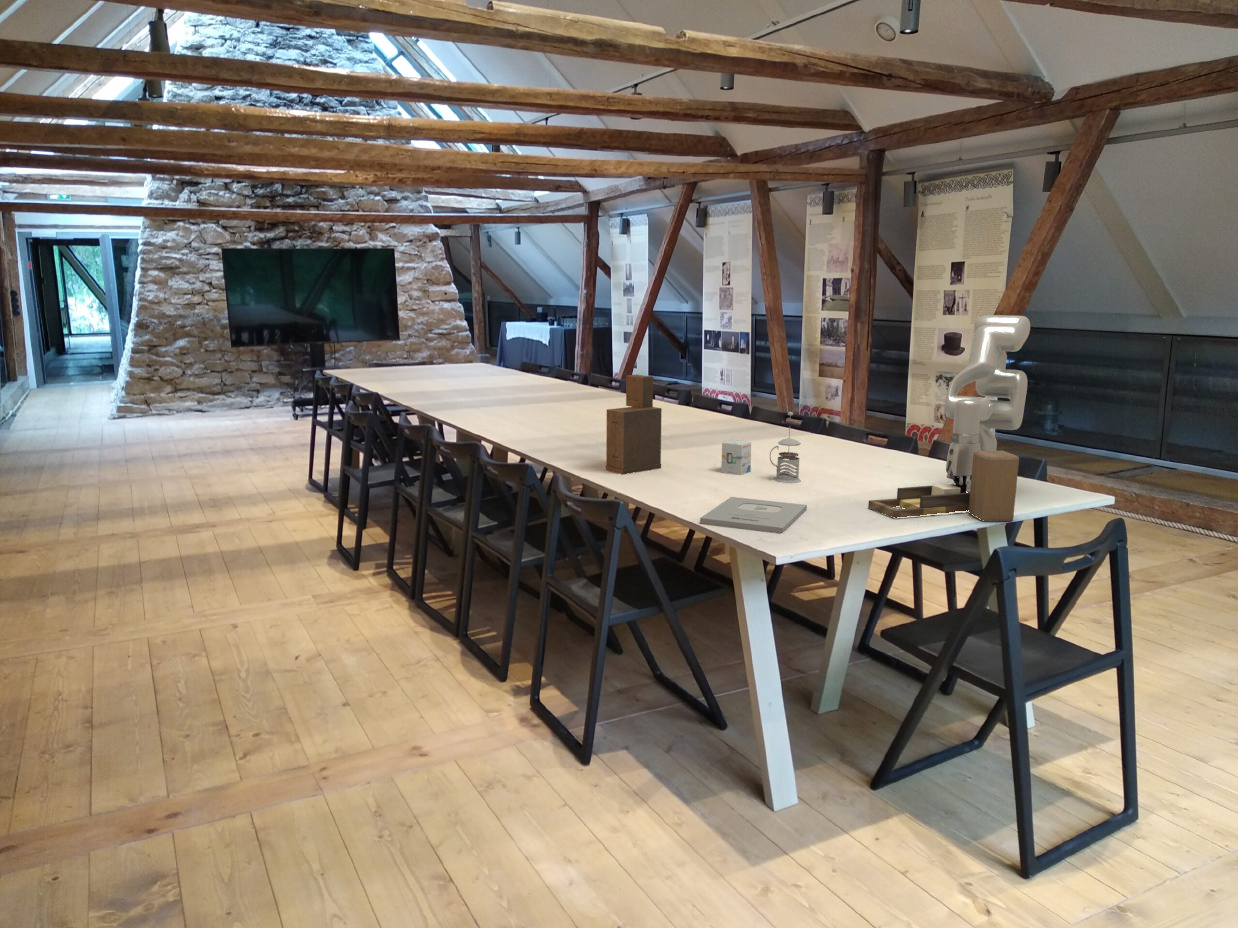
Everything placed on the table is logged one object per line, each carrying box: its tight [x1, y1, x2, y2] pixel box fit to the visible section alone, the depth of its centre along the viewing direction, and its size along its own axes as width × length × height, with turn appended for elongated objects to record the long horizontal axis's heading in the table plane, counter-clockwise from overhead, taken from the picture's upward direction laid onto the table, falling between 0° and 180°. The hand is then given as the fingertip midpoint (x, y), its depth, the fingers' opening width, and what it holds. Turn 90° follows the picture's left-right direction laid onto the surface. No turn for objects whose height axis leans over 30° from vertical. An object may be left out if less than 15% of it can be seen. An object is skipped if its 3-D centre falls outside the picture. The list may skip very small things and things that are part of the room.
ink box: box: [720, 439, 752, 476], centre depth 324 cm, size 8×8×12 cm
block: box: [969, 450, 1020, 522], centre depth 259 cm, size 10×10×20 cm
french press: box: [769, 411, 802, 484], centre depth 310 cm, size 10×12×25 cm
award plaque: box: [699, 496, 808, 534], centre depth 261 cm, size 25×30×2 cm
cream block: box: [931, 483, 961, 495], centre depth 271 cm, size 6×6×4 cm
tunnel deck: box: [867, 483, 970, 518], centre depth 270 cm, size 14×35×6 cm, turn 108°
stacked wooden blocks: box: [605, 374, 662, 475], centre depth 328 cm, size 19×14×35 cm
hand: (960, 496), depth 273 cm, fingers closed
